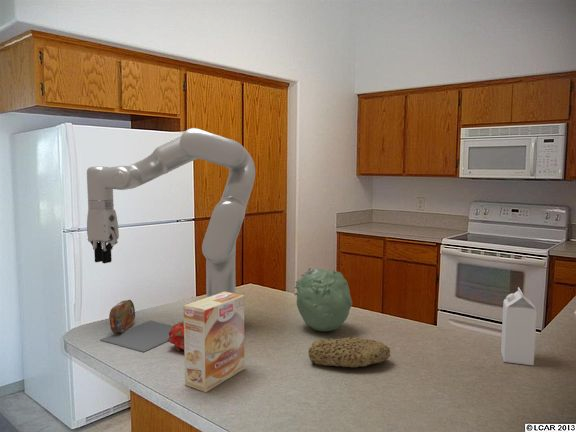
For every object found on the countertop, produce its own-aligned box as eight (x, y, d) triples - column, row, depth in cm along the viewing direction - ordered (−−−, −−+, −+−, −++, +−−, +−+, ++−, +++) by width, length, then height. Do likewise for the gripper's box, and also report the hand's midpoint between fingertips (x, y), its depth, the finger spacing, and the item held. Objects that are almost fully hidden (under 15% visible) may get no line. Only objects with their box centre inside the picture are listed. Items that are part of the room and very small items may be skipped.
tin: (119, 336, 138) (116, 309, 137) (108, 337, 138) (106, 309, 137) (136, 321, 153) (134, 296, 152) (127, 321, 153) (125, 297, 152)
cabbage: (343, 343, 134) (344, 276, 132) (285, 333, 142) (285, 270, 140) (359, 326, 148) (360, 266, 146) (305, 318, 156) (306, 261, 154)
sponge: (308, 374, 117) (385, 369, 110) (304, 342, 118) (380, 336, 111) (323, 363, 129) (394, 359, 122) (319, 335, 130) (389, 329, 123)
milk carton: (529, 355, 125) (532, 288, 123) (533, 366, 118) (537, 294, 116) (500, 352, 127) (504, 285, 125) (503, 362, 120) (507, 292, 118)
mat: (191, 330, 144) (191, 329, 144) (143, 352, 127) (143, 351, 127) (150, 321, 153) (150, 320, 153) (100, 340, 136) (99, 339, 136)
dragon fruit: (168, 350, 132) (205, 361, 129) (156, 342, 125) (194, 354, 122) (179, 322, 136) (215, 332, 133) (169, 313, 129) (206, 324, 125)
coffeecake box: (206, 393, 104) (204, 309, 102) (183, 385, 108) (181, 304, 106) (246, 369, 116) (245, 294, 115) (224, 362, 120) (223, 290, 118)
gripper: (128, 205, 145) (130, 262, 146) (94, 203, 153) (96, 257, 154) (108, 207, 138) (110, 266, 140) (74, 205, 146) (76, 261, 148)
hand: (103, 261), depth 147 cm, fingers open, 2 cm apart
